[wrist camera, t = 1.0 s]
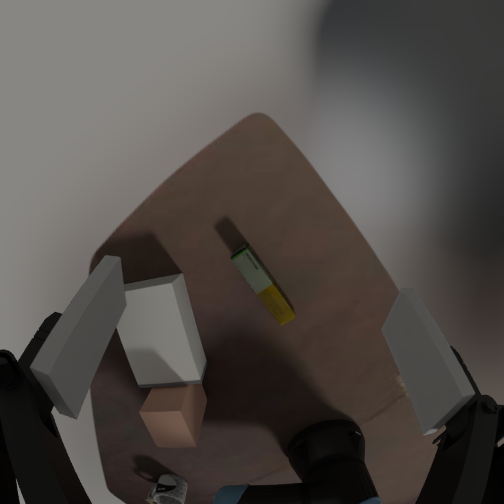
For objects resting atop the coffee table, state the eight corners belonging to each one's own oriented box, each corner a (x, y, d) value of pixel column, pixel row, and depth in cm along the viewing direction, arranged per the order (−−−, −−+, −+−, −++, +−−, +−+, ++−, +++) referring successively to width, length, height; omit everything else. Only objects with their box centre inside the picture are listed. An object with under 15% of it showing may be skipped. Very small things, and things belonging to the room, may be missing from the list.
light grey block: (207, 363, 44) (201, 383, 38) (150, 368, 44) (139, 388, 38) (183, 272, 42) (172, 282, 36) (123, 284, 42) (105, 294, 36)
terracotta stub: (207, 399, 45) (196, 446, 33) (174, 402, 45) (157, 447, 33) (195, 366, 44) (180, 410, 32) (162, 369, 44) (139, 412, 32)
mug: (176, 471, 48) (170, 492, 42) (193, 487, 49) (189, 507, 42) (143, 476, 49) (136, 495, 42) (160, 491, 50) (155, 510, 43)
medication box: (231, 251, 42) (228, 256, 38) (246, 240, 41) (245, 244, 37) (279, 316, 43) (281, 327, 39) (294, 306, 43) (297, 316, 39)
